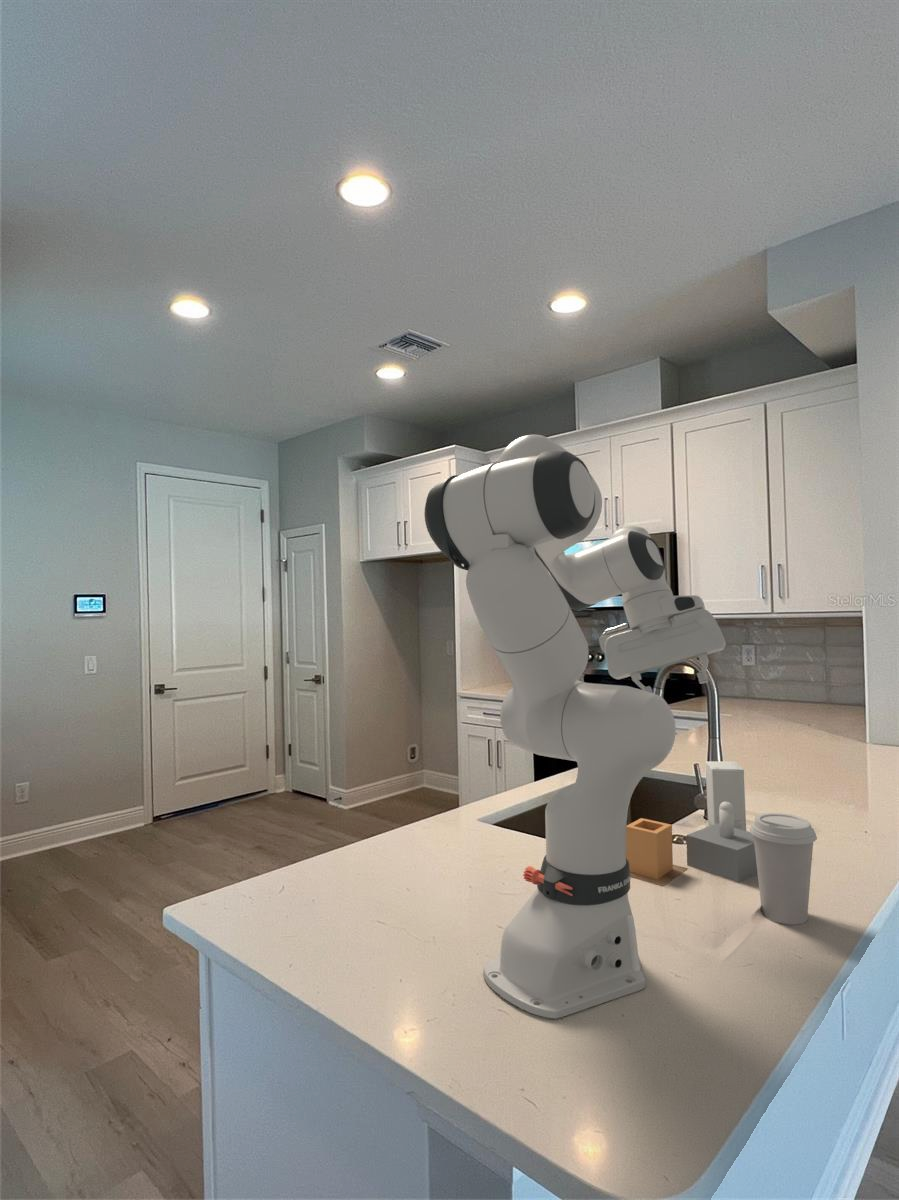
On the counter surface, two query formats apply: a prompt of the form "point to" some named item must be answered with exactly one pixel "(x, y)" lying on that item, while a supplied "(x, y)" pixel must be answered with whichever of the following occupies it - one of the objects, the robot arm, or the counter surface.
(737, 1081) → the counter surface
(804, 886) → the coffee cup
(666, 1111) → the counter surface
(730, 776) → the skincare box
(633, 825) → the sleeve
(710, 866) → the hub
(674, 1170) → the counter surface
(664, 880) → the stand
